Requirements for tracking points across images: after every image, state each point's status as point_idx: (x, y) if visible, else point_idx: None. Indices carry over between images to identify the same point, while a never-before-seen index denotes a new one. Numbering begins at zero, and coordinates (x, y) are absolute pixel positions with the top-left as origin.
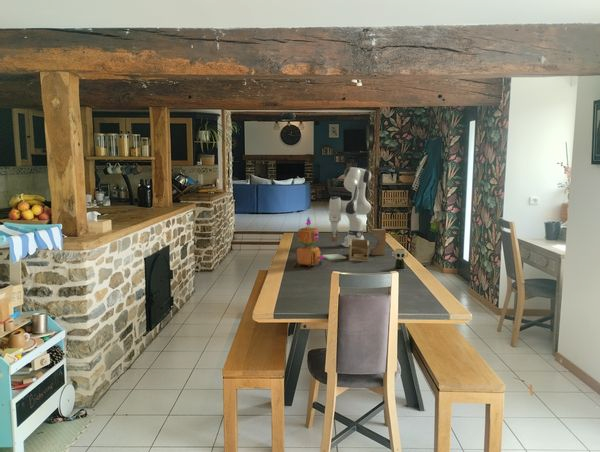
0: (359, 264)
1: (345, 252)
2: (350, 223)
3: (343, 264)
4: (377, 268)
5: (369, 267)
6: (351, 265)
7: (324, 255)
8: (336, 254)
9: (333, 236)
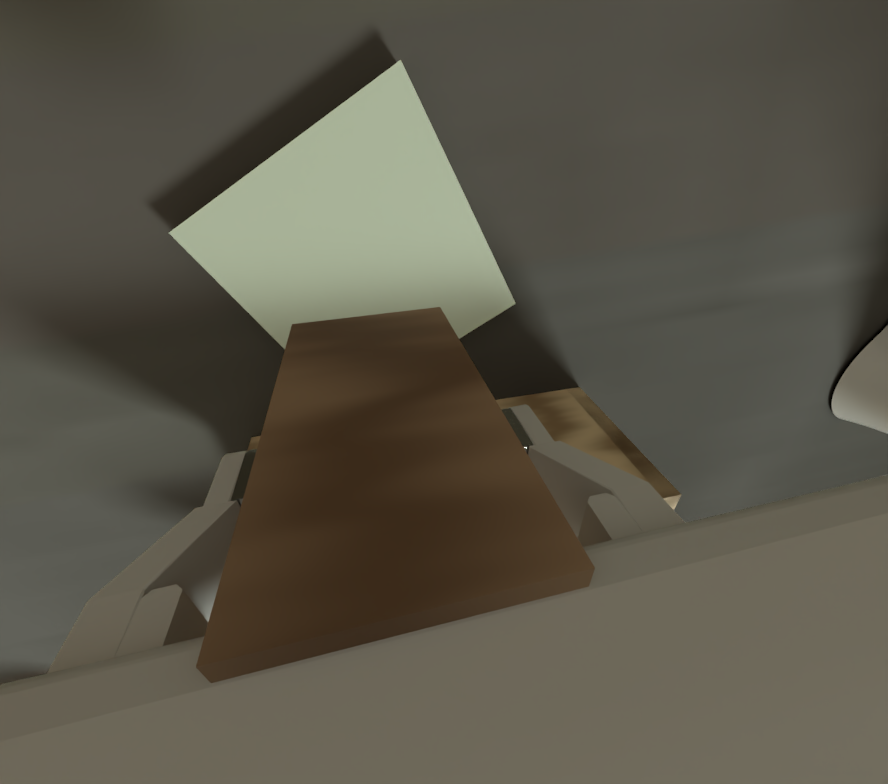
0: (125, 536)
1: (666, 334)
2: None
3: (3, 433)
4: (57, 641)
5: (51, 606)
6: (17, 501)
7: (370, 114)
8: (479, 284)
9: (225, 464)
